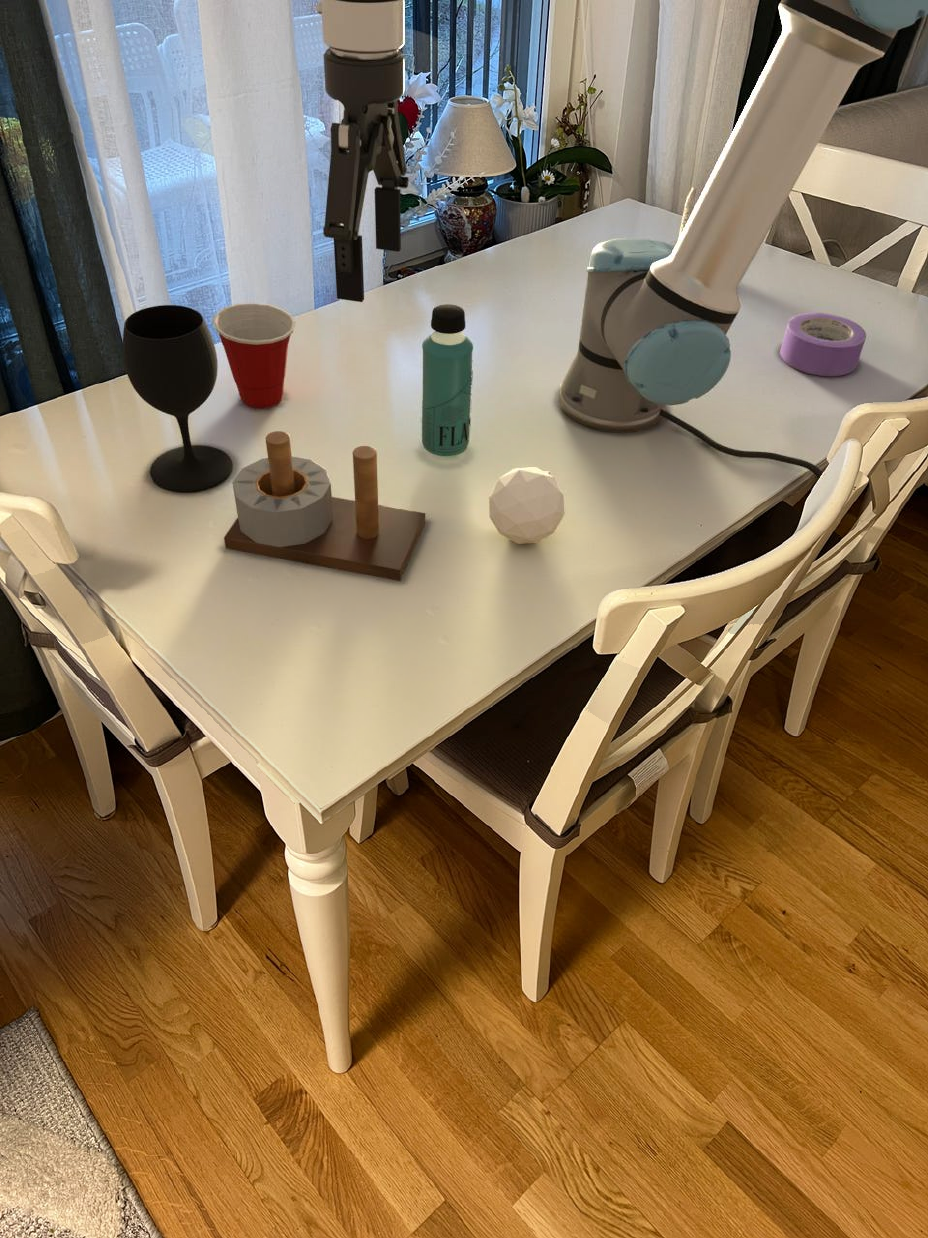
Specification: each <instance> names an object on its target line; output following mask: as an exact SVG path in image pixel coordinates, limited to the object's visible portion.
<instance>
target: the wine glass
mask: <svg viewBox="0 0 928 1238" xmlns="http://www.w3.org/2000/svg"><path fill="white" fill-rule="evenodd" d="M123 324H124V325H123V332H122V357H123V362H124V367H125V368H124V369H125V372H126V375H127V377H128V379H129V382H130V384H131V385H132V387H133V389H134V391H135V392H136V394H137V395H138V396H139V397H140V398H141V399H142V400H143V402H146V403H147V405H149V406H151V407H152V408H153V409H156V410H157V411H159V412H160V413H164V414H167V415H169V416H173V417H174V418H175V419H176V422H177V424H178V429H179V431H180V435H181V440H182V446H179V447H176V448H173V449H170V450H168V451H165V452H164V453H162V454H160V455H159V456H157V457H156V459H154V461H153V462H152V464H151V466H150V468H149V476H150V479H151V481H152V482H153V484H155V485H156V486H157V487H159V488H160V489H163V490H164V491H167V492H172V493H177V494H195V493H201V492H204V491H208V490H211V489H214V488H217V487H218V486H220V485H221V484H223V483H224V482H225V481H227V480H228V478H229V477H230V476H231V474H232V473H233V470H234V464H233V459H232V458H231V456H230V455H229V454H228V453H227V452H225V451H224V450H222V449H220V448H217V447H214V446H211V445H205V444H204V445H203V444H192V441H191V436H190V435H191V434H190V429H189V415H190V414H192V413H193V412H195V411H196V410H197V409H199V408H200V407H201V406H202V405H203V404H204V403H205V402H206V401H207V400H208V399H209V397H210V396H211V394H212V392H213V390H214V389H215V385H216V383H217V378H218V369H219V366H218V354H217V350H216V345H215V342H214V340H213V336H212V334H211V332H210V329H209V326H208V325H207V322H206V319H204V317H203V315H202V313H200V312H199V311H198V310H196V309H194V308H192V307H189V306H183V305H176V304H174V305H173V304H162V305H154V306H148V307H145V308H142V309H139V310H137V311H135V312H132V313H131V314H130V315H128V317H127V318H126V320H125V321H124V323H123Z"/></svg>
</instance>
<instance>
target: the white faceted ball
mask: <svg viewBox="0 0 928 1238" xmlns="http://www.w3.org/2000/svg"><path fill="white" fill-rule="evenodd" d="M488 499H489V500H488V504H489V505H488V506H489V509H488V510H489V518H490V520H491V523H492V524H493V526H494V527H495V529H496V531H497V532H498V534H499V535H501V536H503V537H505V538H506V539H508V540H510V541H511V542H514V543H515V544H516V545H517V544H518V545H519V544H520V545H521V544H523V545H524V544H539V543H541V542H542V541H544V540H545V539H546V538H548V537H549V536H551V535H552V534H554V533H555V531H556V530H557V528H558V526H559V524H560V523H561V522H562V520H563V518H564V516H565V500H564V493H563V491H562V489H561V487H560V485H559V483H558V481H557V480H556V478H555V476H553V475H551V472H550V470H545V471H544V470H542V469H541V468H538V467H537V466H533V467H532V466H530V467H515V468H512V469H511V470H510V471H508V472H507V473H505V474H503V475H501V476H500V477H498V479H497V481H496V482H495V484H494V487H493V489H492V490H491V493H490V495H489V497H488Z"/></svg>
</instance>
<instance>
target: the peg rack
mask: <svg viewBox="0 0 928 1238" xmlns="http://www.w3.org/2000/svg"><path fill="white" fill-rule="evenodd" d="M265 445H266V454H267V458H268V462H269V470H270V478H271V487H272V495H273V496H278V497H281V496H288V495H293V494H294V493H295V485H294V475H293V466H292V448H291V447H292V446H291V437H290V434H289V433H287V432H285V431H281V430H276V431H272V432H269V433H267V434H266V436H265ZM352 467H353V470H352V471H353V490H354V500H352V499H347V498H342V497H336V496H335V497H334V496H332V508H333V519H332V521H331V523H330V525H329V526H328V528H327V530H326V532H325V533H324V534H322V535H320V536H318V537H316V538H315V539H313V540H311V541H309V542H308V543H305V544H299V545H293V546H286V547H275V546H270V545H265V544H259V543H256V542H255V541H253V540H252V539H250V538H249V537H248V536H246V535H245V534H244V533H242V532H241V530H240V525H239V521H238V517H237V518H236V519H235V521H234V522H233V524H232V525H231V527H230V528H229V529H228V531H227V532H226V534H225V535H224V537H223V540H224V546H225V549H228V550H234V551H240V552H243V553H251V554H255V555H260V556H265V557H270V558H276V559H282V560H287V561H288V560H289V561H293V562H298V563H304V564H309V565H315V566H319V567H324V568H325V567H326V568H330V569H335V570H341V571H346V572H350V573H351V572H353V573H358V574H361V575H368V576H373V577H377V578H378V577H379V578H383V579H389V580H395V581H401V580H402V578H403V575H404V573H405V571H406V569H407V566H408V565H409V562H410V559H411V557H412V555H413V553H414V550H415V548H416V546H417V543H418V542H419V539H420V537H421V535H422V532H423V530H424V527H425V526H426V519H427V518H426V516H427V515H426V512H421V511H415V510H411V509H404V508H399V507H398V508H397V507H393V506H389V505H388V506H387V505H381V504H379V487H378V486H379V485H378V483H379V482H378V481H379V480H378V452H377V449H376V448H374V447H373V446H370V445H360V446H356V447H355V448H354V449H353V451H352Z"/></svg>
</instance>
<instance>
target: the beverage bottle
mask: <svg viewBox="0 0 928 1238" xmlns="http://www.w3.org/2000/svg"><path fill="white" fill-rule="evenodd" d="M430 328H431V329H432V331H434V332H432V333H431V334H429V335H428V336H427V337H426V338H425V339H424V340H423V342H422V344H421V348H422V396H421V397H422V398H421V403H422V404H421V421H420V423H421V433H420V436H421V443H422V446H423V449H425V450H426V451H427V452H428V453H429V454H431V455H434V456H438V457H455V456H458V455H460V454H462V453H464V452H465V451H466V450H467V448H468V446H469V443H470V433H471V430H470V426H471V420H472V419H471V418H472V417H471V412H472V407H471V406H472V398H471V397H472V396H473V394H472V390H473V379H474V378H473V377H474V374H473V373H474V372H473V351H474V345H473V342H472V340H471V339H470V338H469V337H468V336H467V335H466V334H464V333H463V331H464V330H465V329H466V313H465V310H464V309H463V307H461V306H459V305H457V304H456V305H455V304H450V303H449V304H447V303H444V304H440V305H437V306H435V307H434V308H433V309H432V312H431V321H430Z"/></svg>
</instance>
